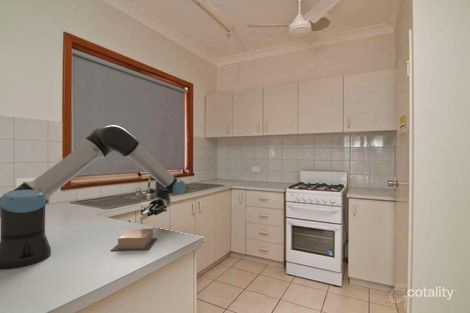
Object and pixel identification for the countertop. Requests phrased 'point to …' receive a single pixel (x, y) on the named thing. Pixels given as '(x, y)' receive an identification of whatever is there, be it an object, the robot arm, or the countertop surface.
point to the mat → (136, 248)
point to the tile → (135, 238)
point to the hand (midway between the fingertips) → (143, 216)
